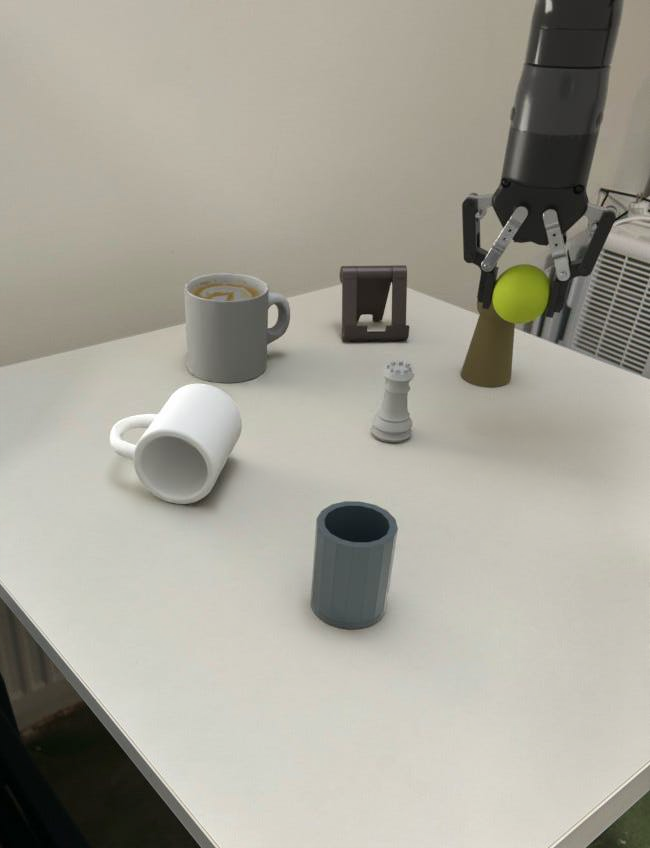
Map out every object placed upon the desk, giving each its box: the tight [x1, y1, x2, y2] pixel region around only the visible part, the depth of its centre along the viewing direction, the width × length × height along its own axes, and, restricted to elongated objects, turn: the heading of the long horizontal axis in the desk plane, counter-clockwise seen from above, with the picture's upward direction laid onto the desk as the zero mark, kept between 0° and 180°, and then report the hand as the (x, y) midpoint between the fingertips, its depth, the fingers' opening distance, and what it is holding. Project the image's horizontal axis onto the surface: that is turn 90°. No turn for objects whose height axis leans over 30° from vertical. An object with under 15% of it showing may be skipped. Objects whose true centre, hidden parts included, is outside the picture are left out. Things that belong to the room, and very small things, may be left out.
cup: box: [310, 500, 399, 630], centre depth 64 cm, size 6×6×8 cm
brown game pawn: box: [460, 299, 516, 388], centre depth 98 cm, size 6×6×11 cm
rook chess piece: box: [370, 360, 415, 444], centre depth 87 cm, size 4×4×8 cm
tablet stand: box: [339, 264, 410, 342], centre depth 110 cm, size 9×8×8 cm
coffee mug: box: [184, 272, 291, 384], centre depth 101 cm, size 13×10×10 cm
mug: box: [109, 382, 243, 505], centre depth 80 cm, size 12×10×8 cm
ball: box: [492, 263, 552, 325], centre depth 81 cm, size 6×6×6 cm
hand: (517, 310), depth 82 cm, fingers closed on ball, 5 cm apart
